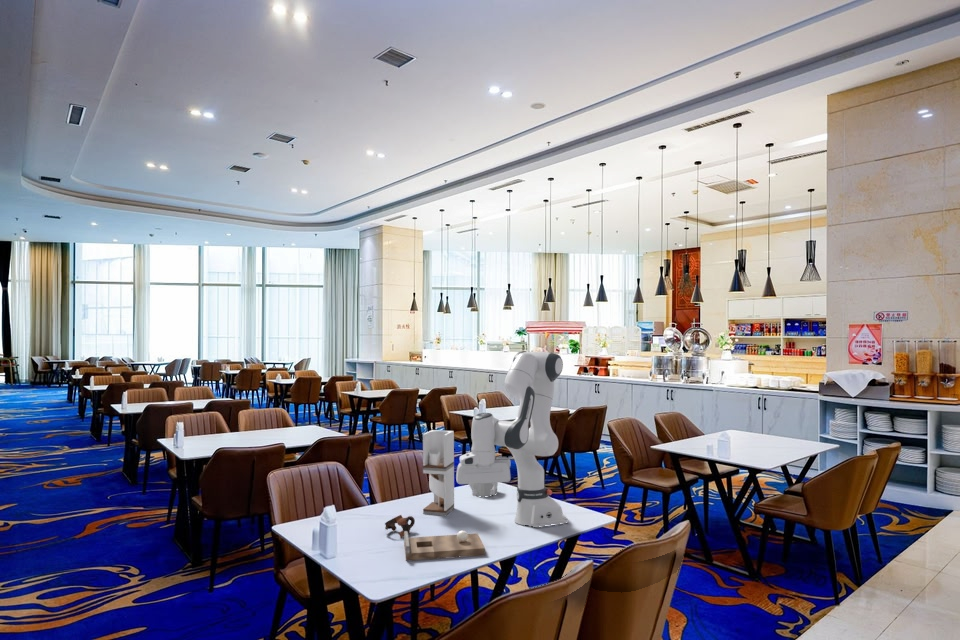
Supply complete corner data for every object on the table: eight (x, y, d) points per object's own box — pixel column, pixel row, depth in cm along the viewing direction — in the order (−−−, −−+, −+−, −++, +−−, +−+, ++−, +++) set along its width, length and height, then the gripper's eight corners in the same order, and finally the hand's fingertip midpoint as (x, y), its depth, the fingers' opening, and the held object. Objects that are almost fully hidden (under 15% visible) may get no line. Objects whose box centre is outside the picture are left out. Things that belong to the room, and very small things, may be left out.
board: (477, 539, 221) (477, 526, 221) (485, 555, 205) (484, 541, 206) (404, 544, 216) (404, 531, 217) (406, 560, 201) (405, 546, 201)
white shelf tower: (432, 506, 266) (431, 430, 267) (454, 508, 263) (453, 431, 264) (423, 513, 255) (422, 434, 256) (446, 515, 252) (445, 435, 253)
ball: (467, 539, 214) (467, 528, 215) (468, 543, 210) (468, 532, 211) (456, 540, 214) (456, 529, 214) (457, 543, 210) (457, 532, 210)
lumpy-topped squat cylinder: (469, 494, 286) (469, 476, 286) (487, 489, 295) (487, 472, 295) (484, 498, 278) (484, 480, 279) (502, 493, 288) (502, 475, 288)
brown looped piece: (395, 541, 221) (386, 521, 224) (388, 545, 229) (379, 526, 231) (421, 527, 228) (412, 508, 231) (413, 531, 236) (405, 513, 238)
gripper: (508, 454, 219) (509, 491, 219) (455, 456, 216) (455, 494, 215) (512, 458, 213) (512, 495, 213) (457, 460, 210) (457, 498, 209)
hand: (483, 494), depth 214 cm, fingers open, 5 cm apart
